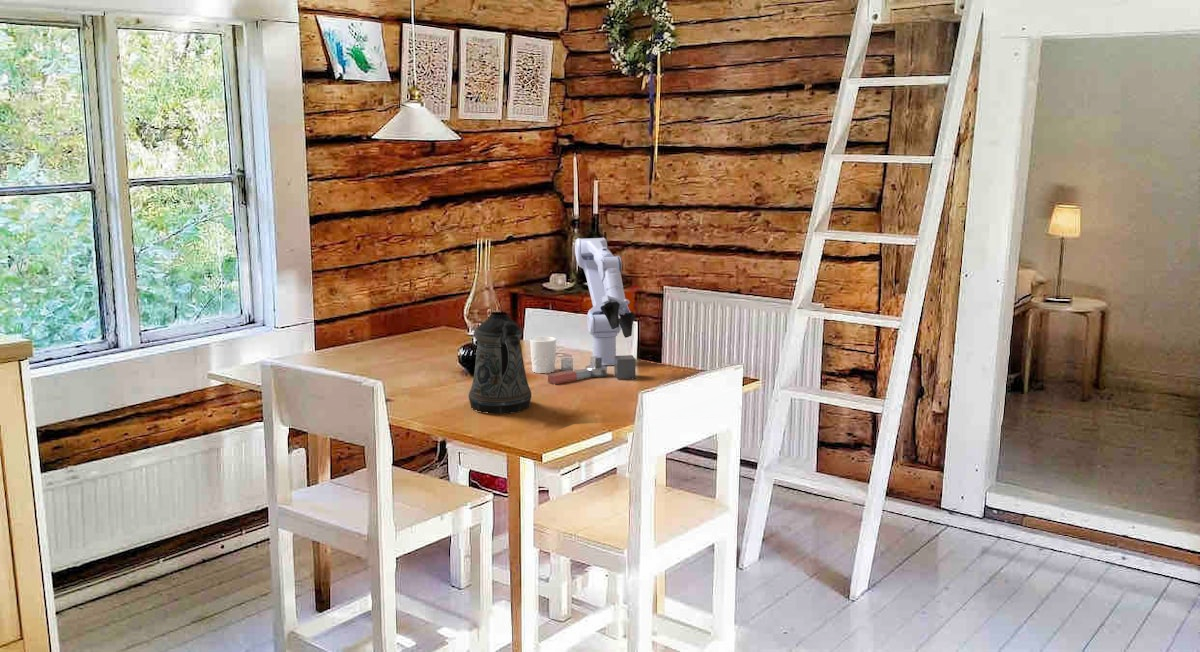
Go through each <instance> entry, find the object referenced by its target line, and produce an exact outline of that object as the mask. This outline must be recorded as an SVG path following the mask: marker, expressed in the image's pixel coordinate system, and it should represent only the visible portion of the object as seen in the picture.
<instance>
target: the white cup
mask: <svg viewBox="0 0 1200 652" xmlns="http://www.w3.org/2000/svg"><path fill="white" fill-rule="evenodd" d="M529 344H530V345H529V346H530V347H529V348H530V360H531V369H532V370H531V371H532V372H533V373H534V372H535V374H540V373H545V374H552V373H555V370H556V364H555V363H556V355H557V354H556V352H557V348H556V347H557V339H556V338H555V337H553V336H534V337H532V338H530V339H529ZM551 372H552V373H551Z"/></svg>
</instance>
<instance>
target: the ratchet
mask: <svg viewBox="0 0 1200 652" xmlns="http://www.w3.org/2000/svg"><path fill="white" fill-rule="evenodd" d="M589 361H590V363H589V365H586V366H585V368H583V369H577V370H576V369H575V370H573V371H571V370H569V371H563V372H561V371H558V372H552V373H547V383H548V382H549V383H548V384H551V383H552V384H551V385H554V384H555V385H559V383H561V384H565V383H564V382H566V383H570V381H571V382H575V380H577V381H580V380H585V379H584V378H586V379H590V378H589V377H601V378H605V377H607V376H608V365H602V357H598V356H594V357H593V356H590V357H589ZM606 375H607V376H606ZM604 376H605V377H604ZM579 379H580V380H579Z"/></svg>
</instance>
